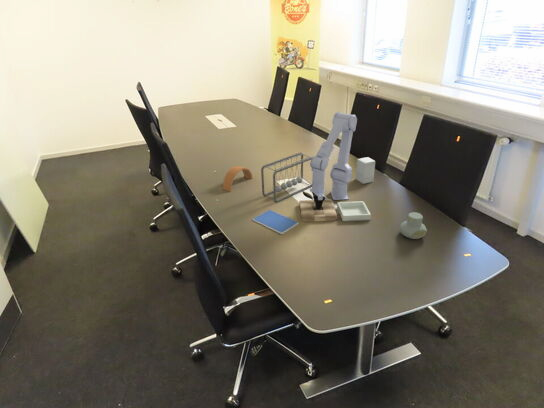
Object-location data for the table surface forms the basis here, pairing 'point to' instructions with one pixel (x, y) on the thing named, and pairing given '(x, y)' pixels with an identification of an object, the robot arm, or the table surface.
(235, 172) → the arch
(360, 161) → the supplement box
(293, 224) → the tablet computer
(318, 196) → the robot arm
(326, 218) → the pin plate
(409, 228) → the air freshener
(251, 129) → the table surface
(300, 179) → the newton's cradle
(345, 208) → the tray
